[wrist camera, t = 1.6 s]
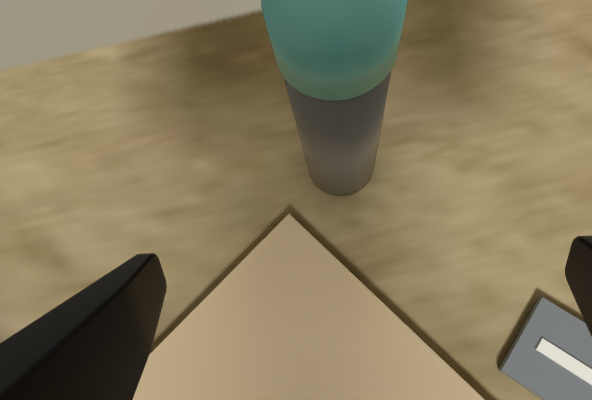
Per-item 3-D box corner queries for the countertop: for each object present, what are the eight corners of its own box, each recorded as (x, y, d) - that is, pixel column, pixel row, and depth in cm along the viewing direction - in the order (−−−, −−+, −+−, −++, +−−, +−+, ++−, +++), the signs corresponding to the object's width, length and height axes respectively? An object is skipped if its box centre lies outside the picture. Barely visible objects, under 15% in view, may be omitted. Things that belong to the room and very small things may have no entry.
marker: (390, 162, 23) (440, -18, 11) (342, 211, 23) (336, 84, 10) (339, 120, 24) (330, -89, 12) (292, 166, 24) (232, 1, 11)
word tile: (666, 375, 19) (675, 376, 18) (627, 455, 18) (634, 459, 18) (538, 297, 20) (543, 296, 20) (498, 369, 20) (501, 370, 19)
